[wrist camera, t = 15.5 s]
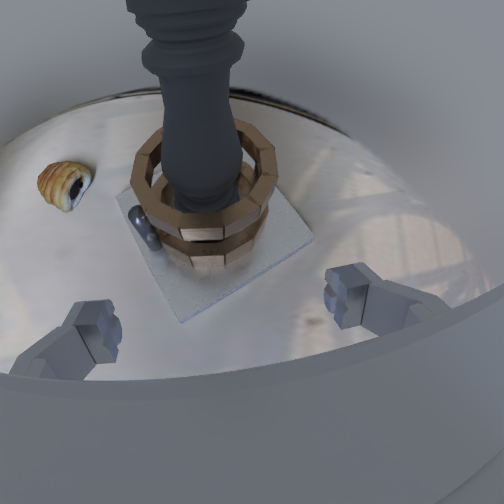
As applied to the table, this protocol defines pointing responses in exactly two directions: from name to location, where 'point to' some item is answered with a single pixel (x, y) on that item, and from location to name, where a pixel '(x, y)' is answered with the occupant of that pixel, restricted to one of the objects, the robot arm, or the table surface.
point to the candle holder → (195, 97)
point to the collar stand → (211, 227)
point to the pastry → (64, 184)
